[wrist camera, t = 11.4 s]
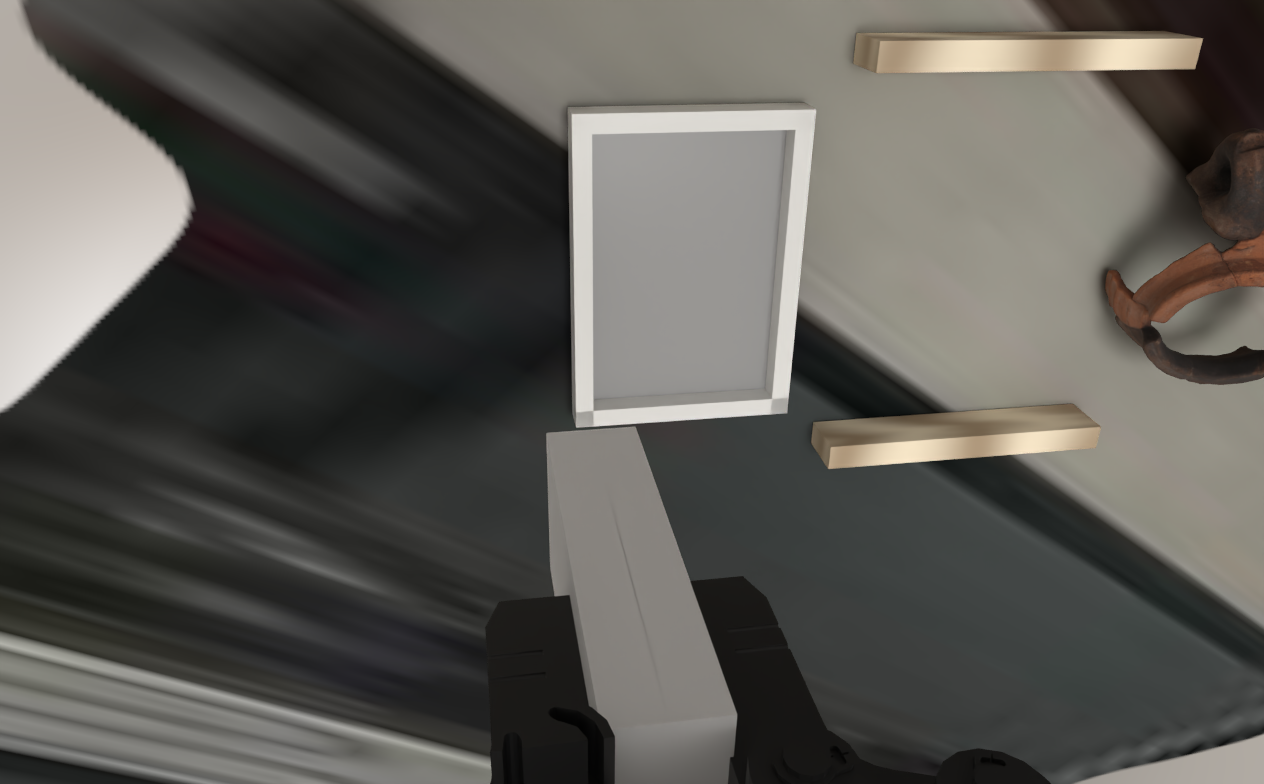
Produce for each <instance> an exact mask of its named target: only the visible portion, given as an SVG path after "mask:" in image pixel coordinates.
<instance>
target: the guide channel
mask: <svg viewBox="0 0 1264 784" xmlns="http://www.w3.org/2000/svg"><path fill="white" fill-rule="evenodd" d="M1202 40H1203V38H1198V37H1193V36H1187V35H1182V34H1177V33H1172V32H1166V31H1092V32H940V33H857V34H856V43H855V52H854V61H853V64H856V65H858V66H860V67H863V68H865V69H868V70H870V71H872V72H875V73H922V72H997V71H1073V70H1148V69H1195V67H1196V63H1197V59H1198V56H1199V52H1200V48H1201V44H1202ZM1100 429H1101V426H1099V425H1098V424H1097V423H1096V422H1095V421H1093V420H1092V419H1091V418H1090V417H1088V416H1087V415H1086V414H1085V413H1083V412H1082V411H1081V410H1080V409H1079V408H1077V407H1076V406H1075V405H1074V404H1063V405H1049V406H1034V407H1020V408H1006V409H992V410H978V411H964V412H949V413H935V414H921V415H907V416H893V417H879V418H865V419H850V420H836V421H822V422H813V431H812V440H811V444H812V445H813V447H814V448H815V450H816V451H817V453H818V454H819V456H820V457H821V459H822V460H823V462H824V463H825V465H826V466H827V468H828V469H834V468H847V467H859V466H872V465H885V464H897V463H910V462H923V461H936V460H948V459H961V458H974V457H987V456H999V455H1012V454H1025V453H1037V452H1050V451H1063V450H1076V449H1088V448H1096V445H1097V441H1098V437H1099V433H1100Z"/></svg>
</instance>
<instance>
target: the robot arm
mask: <svg viewBox="0 0 1264 784" xmlns="http://www.w3.org/2000/svg"><path fill="white" fill-rule="evenodd" d="M546 438H547V472H548V506H549V540H550V568H551V574H552V581H553V588H554V594H555V596H553V597H543V598H532V599H522V600H511V601H501V602H499V603H498V605H497V607H496V609H495V610H494V612H493V614H492V616H491V618H490V620H489V622H488V624H487V626H486V627H485V628H486V647H487V666H488V685H489V704H490V724H491V743H492V746H491V751H490V755H491V769H492V779H491V783H490V784H1051V783H1050V782H1049V781H1048V780H1047V779H1046V778H1045V777H1044V776H1042V775H1041V774H1040V773H1038V772H1037V771H1036V770H1034V769H1033V768H1032V767H1031V766H1029V765H1028V764H1027V763H1025V762H1024V761H1022V760H1019V759H1017V758H1014V757H1012V756H1010V755H1007V754H1005V753H1003V752H999V751H992V750H985V749H972V750H966V751H960V752H957V753H955V754H954V755H952V756H951V757H949V758H948V759H946V760H945V761H943V763H942V765H941V767H940V769H939V772H938V774H937V776H931V775H924V774H918V773H911V772H904V771H898V770H892V769H888V768H884V767H880V766H875V765H873V764H871V763H868V762H866V761H864V760H862V759H860V758H859V757H858V756H857V754H856V753H855V751H854V750H853V749H852V747H851V746H850V745H849V744H848V743H847V742H846V741H844V740H843V739H841V738H840V737H838V736H837V735H835V734H834V733H833V732H831V731H828V730H827V728H826V726H825V725H824V723H823V721H822V718H821V716H820V714H819V712H818V710H817V707H816V705H815V703H814V701H813V699H812V696H811V694H810V692H809V690H808V688H807V685H806V683H805V681H804V679H803V677H802V674H801V672H800V670H799V668H798V666H797V663H796V661H795V659H794V657H793V655H792V652H791V650H790V649H788V644H787V641H786V639H785V637H784V635H783V633H782V630H781V628H779V627H778V622H777V619H776V617H775V615H774V613H773V611H772V608H771V606H770V604H769V602H768V600H767V597H766V596H764V595H763V594H762V593H761V592H760V591H759V590H758V589H756V588H755V587H754V586H753V585H752V584H751V583H750V582H749V581H747V580H746V579H745V578H744V577H743V576H739V577H729V578H718V579H708V580H697V581H690V580H689V577H688V574H687V571H686V568H685V565H684V563H683V560H682V557H681V554H680V551H679V548H678V546H677V543H676V540H675V537H674V534H673V531H672V529H671V526H670V523H669V520H668V517H667V515H666V512H665V509H664V506H663V503H662V500H661V498H660V495H659V492H658V489H657V486H656V483H655V481H654V478H653V475H652V472H651V469H650V467H649V464H648V461H647V458H646V455H645V452H644V450H643V447H642V444H641V441H640V438H639V435H638V433H637V430H636V427H624V428H610V429H596V430H581V431H567V432H552V433H546Z"/></svg>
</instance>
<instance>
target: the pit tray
mask: <svg viewBox="0 0 1264 784" xmlns="http://www.w3.org/2000/svg"><path fill="white" fill-rule="evenodd" d="M815 117H816V109H815V108H813V107H811V106H809V105H808V104H806V103H755V104H700V105H644V106H588V107H568V163H569V227H570V291H571V355H572V413H573V417H574V421H575V425H576V428H577V427H592V426H606V425H621V424H635V423H650V422H665V421H679V420H694V419H708V418H723V417H737V416H752V415H766V414H781V413H787V408H788V398H789V387H790V377H791V367H792V356H793V346H794V335H795V325H796V315H797V304H798V294H799V284H800V273H801V263H802V252H803V242H804V232H805V221H806V211H807V200H808V190H809V180H810V169H811V159H812V149H813V138H814V128H815Z"/></svg>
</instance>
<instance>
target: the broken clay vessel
mask: <svg viewBox="0 0 1264 784" xmlns="http://www.w3.org/2000/svg"><path fill="white" fill-rule="evenodd" d="M1186 180H1187V181H1188V183H1189V184H1190V185H1191V186H1192V187H1193V189H1194V190H1195V192H1196V193H1197V195H1198V196H1199V198H1198V200H1199V204H1200V206H1201V207H1202V216H1203V219H1204V221H1205V222H1206V223H1207V224H1208V225H1209V226H1210V227H1211V228H1212V229H1213V230H1214V232H1215V233H1216V234H1218V235H1219V236H1221V237H1222V238H1225V239H1228V240H1238V242H1237V243H1236V244H1235V245H1234V246H1233V247H1231V248H1229V249H1227V250H1225V251H1223V252H1220V251H1219V250H1218V249H1217V248H1215V246H1214V244H1212V243H1210V242H1209V243H1207V244H1204V245H1202V246H1201V247H1199V248H1198V249H1196V250H1194V251H1193V252H1191V253H1189V254H1188V255H1186V256H1185V257H1182V258H1180V259H1179V260H1177V261H1175V262H1173V263H1172V264H1170V265H1169V266H1168V267H1167V268H1166V269H1165V270H1163V271H1162V272H1160V273H1159V274H1157V275H1155V276H1154V277H1153V278H1151V279H1150V280H1148V281H1147V282H1146V283H1144V284H1143V285H1142V286H1141V287H1140V288H1139V289H1138V290H1137V292H1136V293H1135V294H1134V293H1133V292H1132V291H1130V290H1129V289H1128V288H1127V287H1126V285H1125V284H1124V282H1123V280H1122V279H1121V276H1120V274H1119V272H1118V271H1116V270H1109V271H1108V273H1107V277H1106V286H1105V290H1106V293H1107V295H1108V298H1109V305H1110V306H1111V307H1112V308H1113V309H1114V313H1115V314H1116V317H1115V319H1116V321H1117V323H1118V325H1119V326H1120V327H1121V328H1122V329H1123V330H1124V331H1125V332H1126V333H1127V334H1128V335H1129V336H1130V337H1131V338H1132V339H1133V340H1134V341H1135V342H1136V343H1137V344H1138V345H1139V346H1141V347H1142V348H1143V350H1144V352H1145V354H1146V355H1147V357H1148V358H1149V360H1150V361H1152V362H1153V364H1154V365H1155V366H1156V367H1157V368H1158V369H1160V370H1161V371H1163V372H1164V373H1166V374H1168V375H1171V376H1173V377H1176V378H1179V379H1186V380H1188V381H1190V382H1195V383H1199V384H1217V385H1224V384H1238V383H1244V382H1249V381H1253V380H1258V379H1261V378H1263V377H1264V350H1252V349H1249V348H1248V347H1247V346H1243V347H1240V348H1238V349H1237V350H1236V351H1234V352H1232V353H1228V354H1223V355H1218V356H1212V355H1184V354H1181V353H1179V352H1176V351H1172V350H1170V349H1169V348H1167V347H1166V345H1165V344H1164V343H1163V341H1162V338H1161V335H1160V334H1159V332H1158V331H1157V330H1156V329H1155V328H1154V327H1153V326H1151V321H1155V322H1160V323H1165V322H1167V321H1168V320H1169V319H1170V318H1171V317H1172V316H1173V315H1174V314H1175V313H1176V312H1178V311H1179V310H1180V309H1181V308H1183V307H1184V306H1185V305H1186V304H1188V303H1190V302H1192V301H1194V300H1196V299H1198V298H1201V297H1203V296H1205V295H1208V294H1211V293H1214V292H1218V291H1222V290H1225V289H1229V288H1234V287H1237V286H1244V287H1245V286H1257V287H1264V131H1262V130H1259V129H1256V128H1250V129H1248V130H1246V131H1243V132H1238V133H1233V134H1231V135H1229V136H1228V137H1227V138H1225V139H1224V140H1223V141H1222V142H1221V143H1220V144H1219V145H1218V146H1217V148H1216V149H1215V151H1214V153H1213V155H1212V156H1211V158H1210V160H1209V161H1208V162H1206V163H1204V164H1202V165H1200V166H1198V167H1197V168H1195V169H1194V170H1193V171H1192V172H1190V173H1189V174H1188V175H1187V176H1186Z"/></svg>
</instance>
